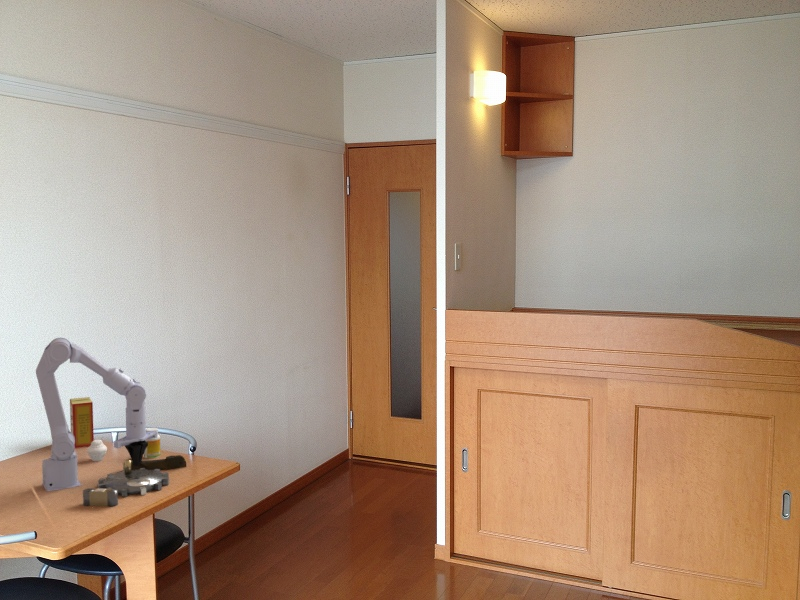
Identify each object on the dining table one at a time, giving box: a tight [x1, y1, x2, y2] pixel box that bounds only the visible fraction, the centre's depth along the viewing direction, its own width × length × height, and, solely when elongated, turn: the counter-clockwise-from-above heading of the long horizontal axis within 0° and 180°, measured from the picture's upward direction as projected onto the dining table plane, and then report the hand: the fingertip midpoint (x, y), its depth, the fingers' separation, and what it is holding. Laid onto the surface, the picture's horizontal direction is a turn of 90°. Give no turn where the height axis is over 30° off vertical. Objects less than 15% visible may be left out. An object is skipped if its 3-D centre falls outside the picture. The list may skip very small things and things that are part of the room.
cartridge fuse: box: [82, 487, 119, 508], centre depth 206 cm, size 10×3×5 cm, turn 88°
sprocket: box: [97, 458, 170, 498], centre depth 221 cm, size 20×20×6 cm
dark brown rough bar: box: [122, 454, 187, 471], centre depth 236 cm, size 19×4×5 cm, turn 105°
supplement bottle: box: [143, 427, 162, 459], centre depth 250 cm, size 5×5×10 cm
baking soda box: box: [69, 396, 95, 449], centre depth 265 cm, size 10×6×16 cm
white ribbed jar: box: [86, 439, 108, 462], centre depth 247 cm, size 6×6×7 cm
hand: (136, 465), depth 229 cm, fingers closed
